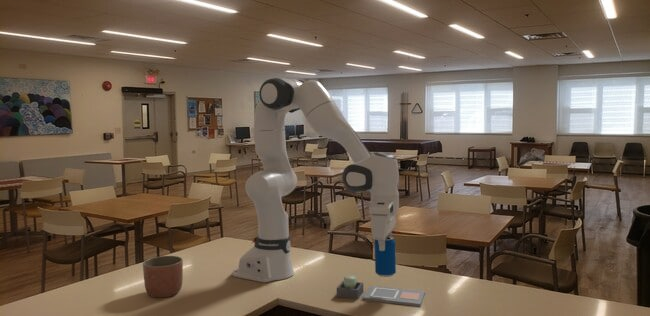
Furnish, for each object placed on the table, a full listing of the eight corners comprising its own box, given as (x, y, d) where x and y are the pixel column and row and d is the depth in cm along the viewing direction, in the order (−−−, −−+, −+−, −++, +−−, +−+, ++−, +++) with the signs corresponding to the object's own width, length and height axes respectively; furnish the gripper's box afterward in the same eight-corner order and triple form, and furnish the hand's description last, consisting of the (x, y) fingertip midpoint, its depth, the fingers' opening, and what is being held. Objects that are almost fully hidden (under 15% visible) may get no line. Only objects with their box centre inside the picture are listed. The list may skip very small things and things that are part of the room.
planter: (191, 288, 161) (190, 257, 160) (167, 302, 149) (166, 268, 148) (160, 285, 165) (159, 254, 164) (135, 298, 153) (134, 264, 152)
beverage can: (395, 278, 148) (394, 240, 147) (374, 277, 149) (373, 239, 148) (396, 271, 154) (395, 235, 153) (376, 270, 155) (375, 234, 154)
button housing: (336, 296, 152) (336, 287, 151) (342, 289, 158) (342, 280, 158) (357, 299, 149) (357, 290, 149) (363, 291, 156) (363, 282, 156)
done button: (342, 289, 152) (342, 279, 152) (346, 285, 156) (345, 275, 156) (354, 291, 151) (354, 280, 151) (357, 286, 155) (357, 276, 155)
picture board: (362, 299, 149) (362, 297, 149) (370, 287, 159) (370, 285, 159) (420, 306, 143) (420, 303, 143) (425, 293, 154) (425, 290, 154)
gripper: (381, 198, 161) (381, 238, 162) (367, 209, 141) (367, 254, 142) (400, 198, 159) (400, 239, 160) (388, 210, 139) (388, 256, 140)
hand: (384, 246), depth 151 cm, fingers closed on beverage can, 6 cm apart
